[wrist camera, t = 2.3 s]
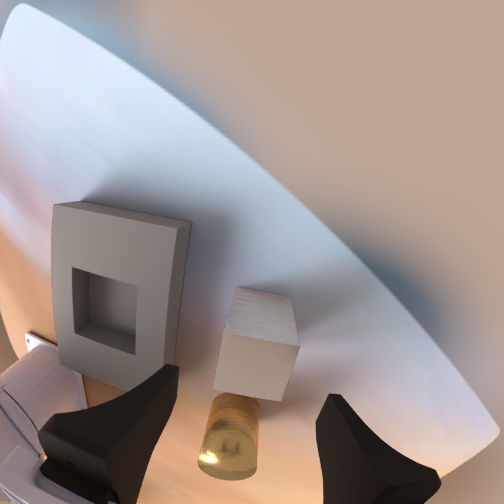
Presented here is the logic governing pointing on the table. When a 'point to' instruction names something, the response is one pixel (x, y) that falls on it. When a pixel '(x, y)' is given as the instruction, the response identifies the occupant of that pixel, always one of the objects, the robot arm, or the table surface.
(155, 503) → the table surface
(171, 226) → the bore block
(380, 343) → the table surface
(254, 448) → the round bit
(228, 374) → the square bit
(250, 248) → the table surface
